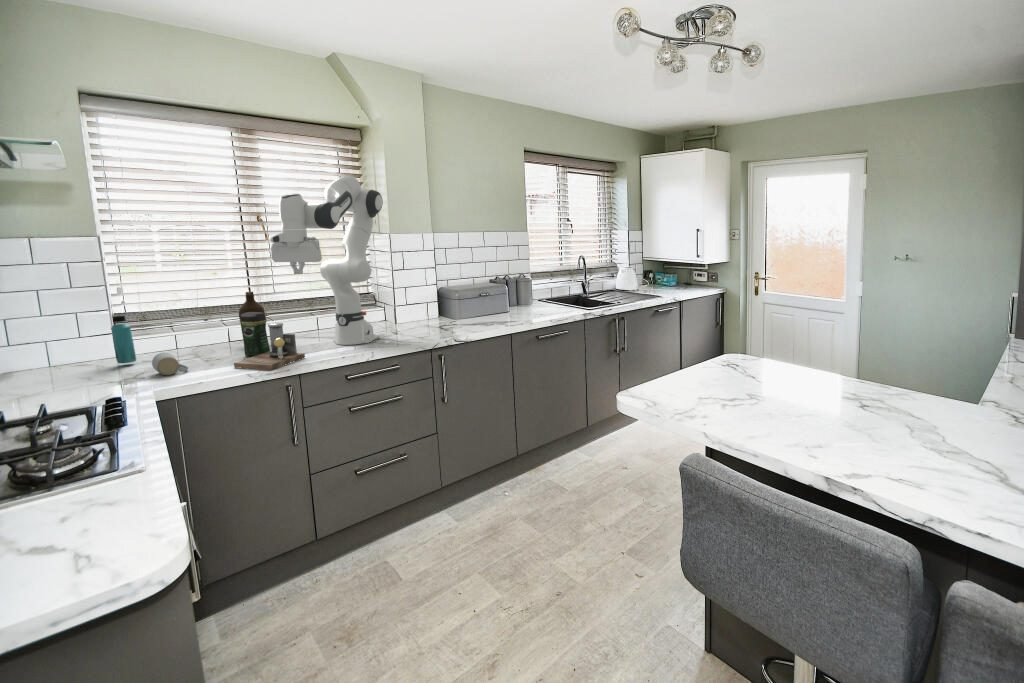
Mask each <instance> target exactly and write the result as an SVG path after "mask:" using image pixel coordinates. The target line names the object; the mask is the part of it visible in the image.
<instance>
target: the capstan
mask: <svg viewBox="0 0 1024 683" xmlns="http://www.w3.org/2000/svg"><path fill="white" fill-rule="evenodd" d="M283 326H284V323H283V322H272V323H268V324H267V327H268V330H269V339H270V340H269V341H270V350H271V351H272V352H270V353H269V355H270V357H279V359H282V358H283V356H286V355H288V351H287V350H285V345H284V335H283V334H284V329H283Z"/></svg>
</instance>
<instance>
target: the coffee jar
mask: <svg viewBox="0 0 1024 683" xmlns="http://www.w3.org/2000/svg"><path fill="white" fill-rule="evenodd" d="M241 325H242V328H243V335H244V341H243V350H244V356H246V357H249V356H252V357H254V356H257V355H260V354H263V353H266V352H269V351H271V347H270V344H269V339H268V333H267V327H266V326H267V317H266V314H264V313H263V312H247V313H242V314H241V324H240V326H241ZM243 335H242V336H243Z"/></svg>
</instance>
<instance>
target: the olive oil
mask: <svg viewBox="0 0 1024 683" xmlns="http://www.w3.org/2000/svg"><path fill="white" fill-rule="evenodd" d="M247 312H263V313H264V314H265V312H266V310H265V309H264V308H263V306H262V305H261V304H260V303H258V301H256V300H255V294H254V291H245V302H244V303H243V304H242V305H241V306H240V307H239V310H238V318H239V324H240V328H241V334H242V340H243V341H242V342H244V335H243V328H242V325H241V314H242V313H247ZM265 315H266V314H265Z"/></svg>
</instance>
